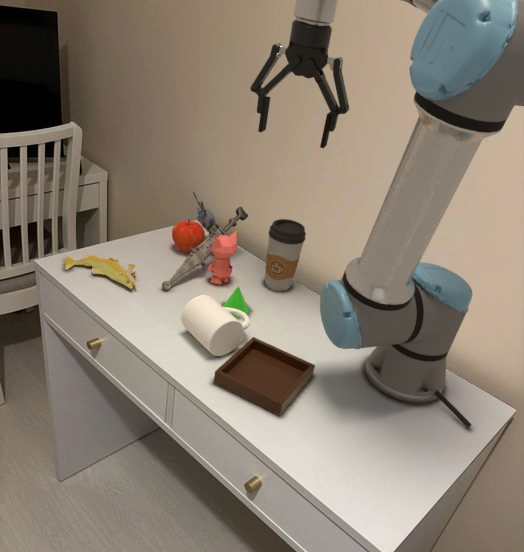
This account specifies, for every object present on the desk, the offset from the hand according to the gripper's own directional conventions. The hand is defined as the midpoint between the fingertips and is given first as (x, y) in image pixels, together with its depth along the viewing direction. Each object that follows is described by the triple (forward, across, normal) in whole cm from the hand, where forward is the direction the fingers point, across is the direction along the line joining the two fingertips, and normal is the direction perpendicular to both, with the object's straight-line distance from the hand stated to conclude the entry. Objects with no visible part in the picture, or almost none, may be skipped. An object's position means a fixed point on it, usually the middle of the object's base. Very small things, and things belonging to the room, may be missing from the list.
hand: (292, 138), depth 114 cm
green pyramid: (+32, +1, +19) cm, 38 cm away
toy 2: (+30, +12, 0) cm, 32 cm away
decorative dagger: (+32, +18, +21) cm, 42 cm away
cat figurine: (+32, +8, +10) cm, 35 cm away
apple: (+32, +21, +1) cm, 39 cm away
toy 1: (+30, +30, +17) cm, 46 cm away
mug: (+32, 0, +31) cm, 45 cm away
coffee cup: (+32, -4, +4) cm, 33 cm away
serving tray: (+32, -13, +38) cm, 52 cm away
